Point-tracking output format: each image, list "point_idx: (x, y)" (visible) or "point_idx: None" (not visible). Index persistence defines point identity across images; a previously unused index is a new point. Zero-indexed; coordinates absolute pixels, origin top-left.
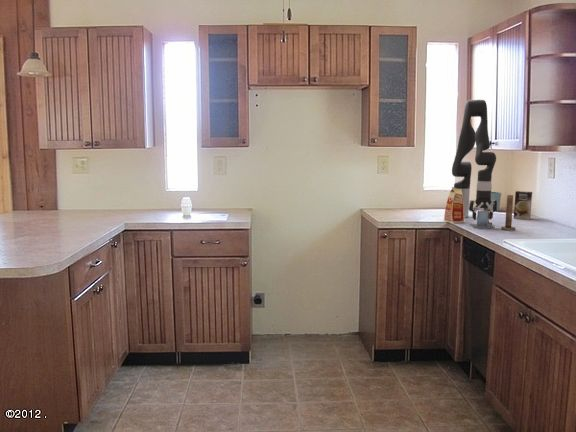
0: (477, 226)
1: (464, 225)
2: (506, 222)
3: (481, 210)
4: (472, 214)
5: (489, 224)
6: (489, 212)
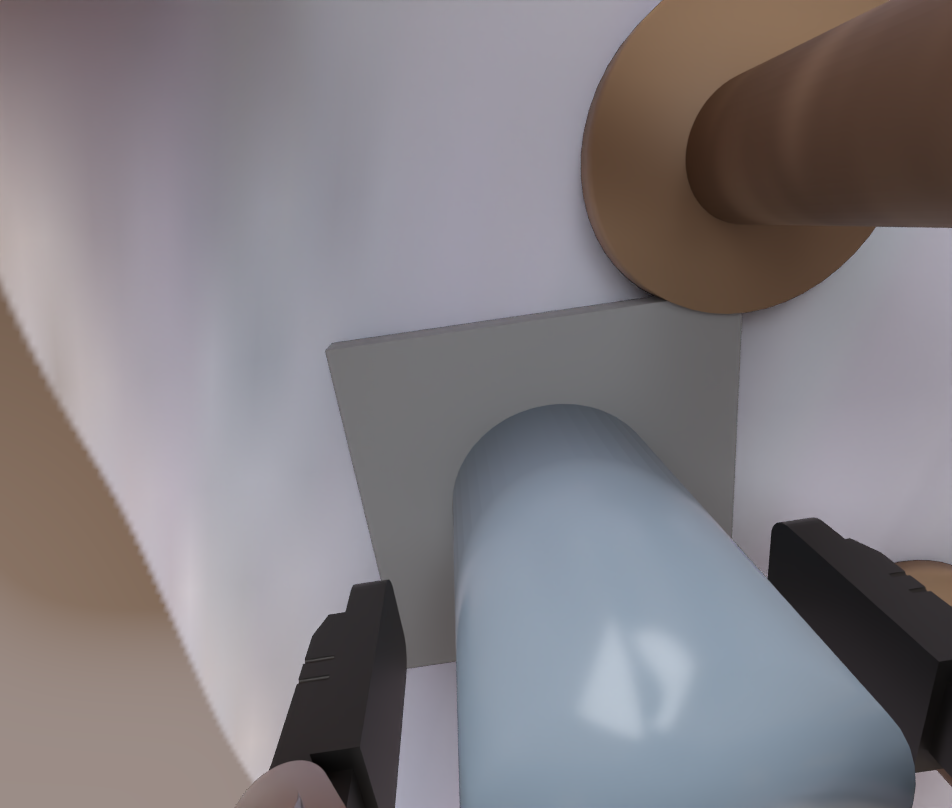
0: (434, 631)
1: (218, 367)
2: (944, 777)
3: (646, 798)
4: (289, 708)
5: (768, 300)
6: (929, 675)
